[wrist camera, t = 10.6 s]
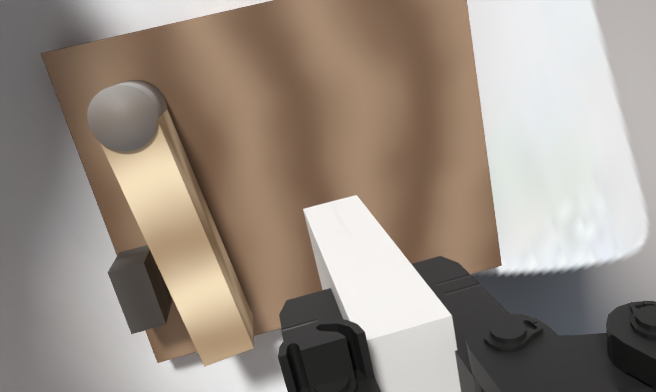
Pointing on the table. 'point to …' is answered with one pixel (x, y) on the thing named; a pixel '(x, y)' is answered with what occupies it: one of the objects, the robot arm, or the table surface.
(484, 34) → the table surface
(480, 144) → the board
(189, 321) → the stool leg
